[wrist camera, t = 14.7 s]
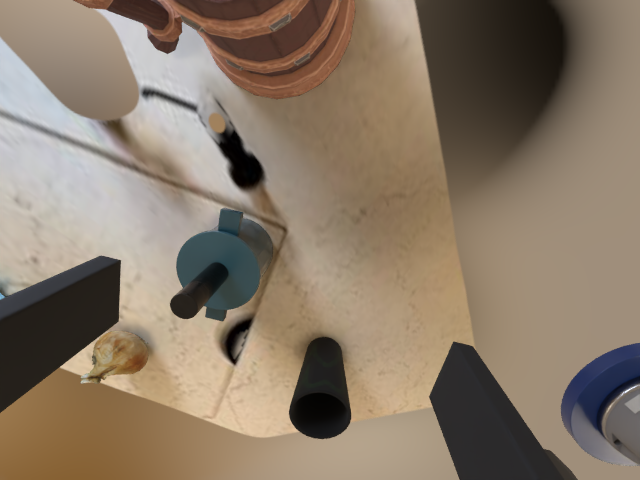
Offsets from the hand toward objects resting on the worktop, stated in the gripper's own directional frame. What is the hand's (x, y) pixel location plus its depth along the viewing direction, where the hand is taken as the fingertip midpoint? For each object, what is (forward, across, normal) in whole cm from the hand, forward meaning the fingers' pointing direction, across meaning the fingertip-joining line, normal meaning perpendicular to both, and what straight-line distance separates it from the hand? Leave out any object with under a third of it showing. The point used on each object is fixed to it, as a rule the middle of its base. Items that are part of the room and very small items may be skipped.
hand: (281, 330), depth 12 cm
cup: (+31, +6, -24) cm, 39 cm away
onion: (+31, -25, -30) cm, 50 cm away
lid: (+22, -10, -10) cm, 26 cm away
